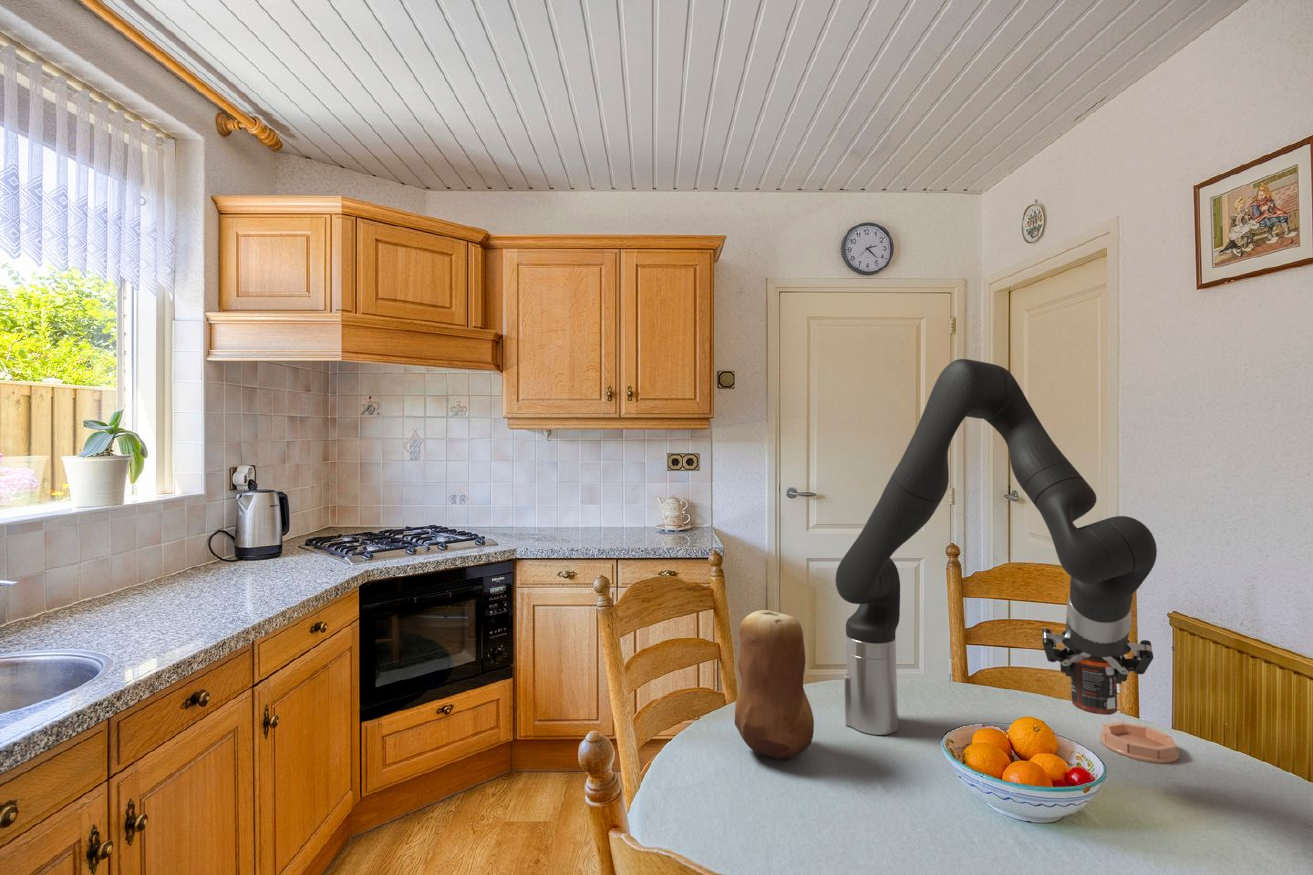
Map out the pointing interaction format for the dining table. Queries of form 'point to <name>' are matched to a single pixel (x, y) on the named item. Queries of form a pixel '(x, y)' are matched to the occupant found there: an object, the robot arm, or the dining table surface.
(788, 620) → the butternut squash
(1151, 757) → the coaster dish
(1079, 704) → the supplement bottle
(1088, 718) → the dining table surface
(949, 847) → the dining table surface
